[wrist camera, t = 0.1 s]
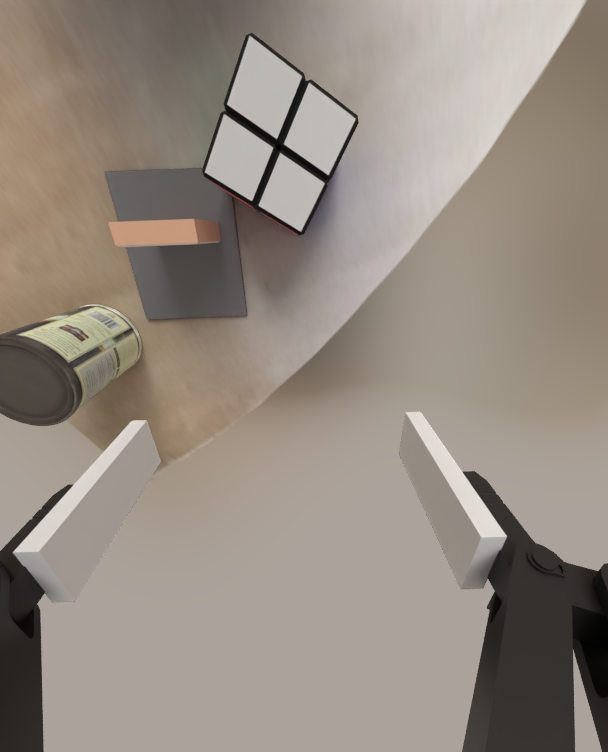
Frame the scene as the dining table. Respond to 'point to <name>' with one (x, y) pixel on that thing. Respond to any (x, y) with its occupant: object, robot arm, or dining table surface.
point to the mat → (181, 262)
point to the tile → (164, 232)
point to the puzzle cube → (277, 138)
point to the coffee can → (64, 362)
